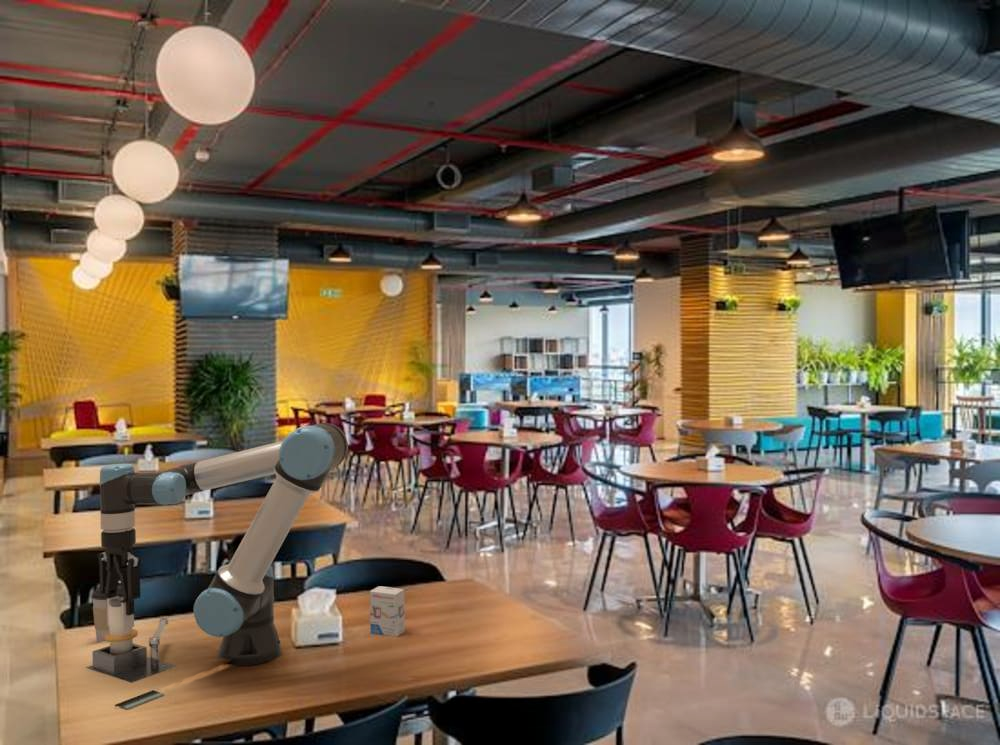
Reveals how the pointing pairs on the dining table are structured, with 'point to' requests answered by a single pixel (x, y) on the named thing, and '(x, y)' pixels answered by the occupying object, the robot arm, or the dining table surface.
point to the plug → (118, 630)
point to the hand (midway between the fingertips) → (120, 626)
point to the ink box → (387, 611)
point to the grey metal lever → (158, 632)
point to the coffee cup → (102, 613)
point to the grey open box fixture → (129, 663)
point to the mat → (139, 700)
